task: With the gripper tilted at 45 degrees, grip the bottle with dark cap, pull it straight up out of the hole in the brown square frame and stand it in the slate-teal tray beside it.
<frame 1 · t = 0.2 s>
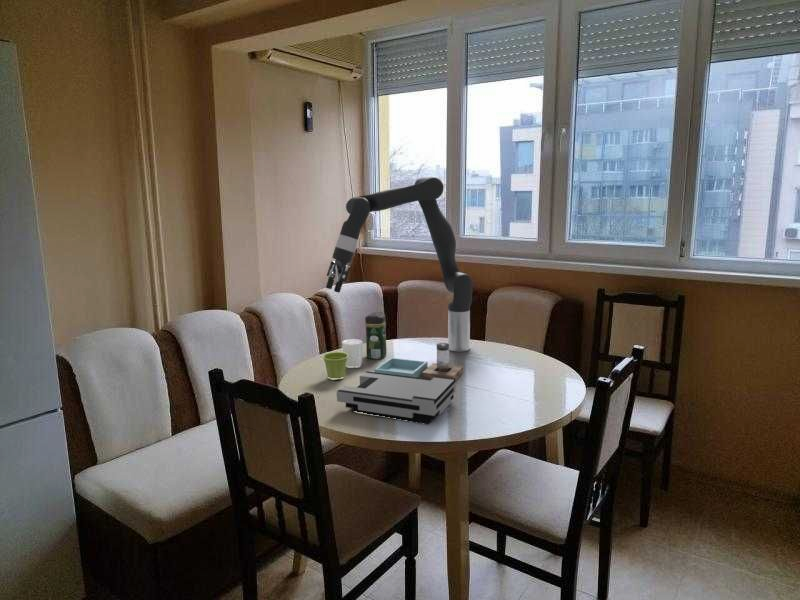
hand: (332, 290, 206), 31 cm above the table, tool tilted 20°, fingers open, 8 cm apart
coffee jar: (376, 356, 229), on the table
game console: (397, 408, 175), on the table
plant pot: (336, 378, 203), on the table
parts tray: (401, 375, 204), on the table
white cup: (353, 366, 217), on the table
brown square frame: (443, 375, 203), on the table
bottle with dark cap: (442, 360, 202), in the brown square frame
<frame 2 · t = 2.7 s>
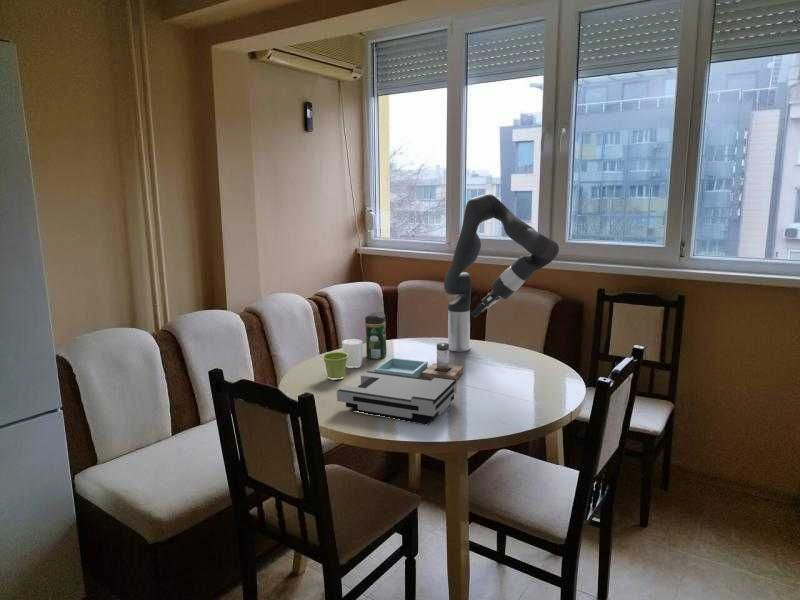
hand: (476, 313, 193), 25 cm above the table, tool tilted 45°, fingers open, 8 cm apart
nothing on the table moved.
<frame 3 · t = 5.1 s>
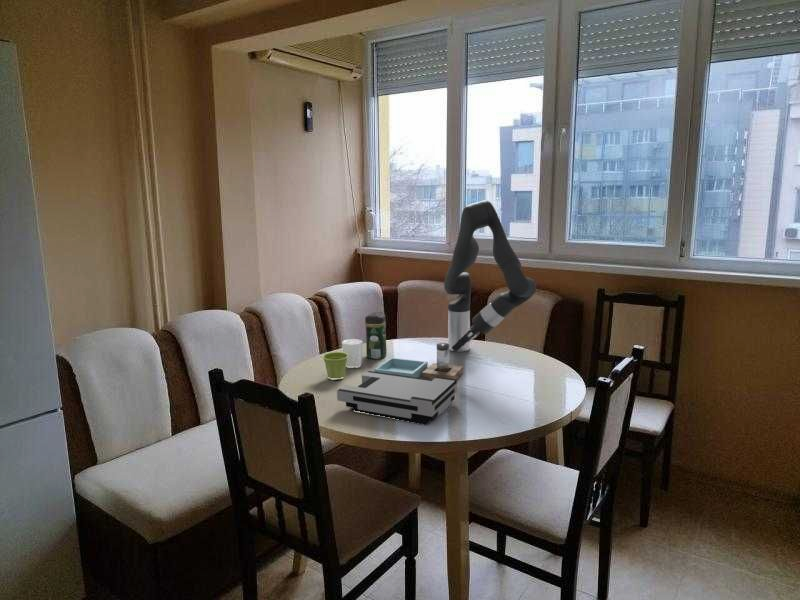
hand: (457, 346, 199), 12 cm above the table, tool tilted 45°, fingers open, 8 cm apart
nothing on the table moved.
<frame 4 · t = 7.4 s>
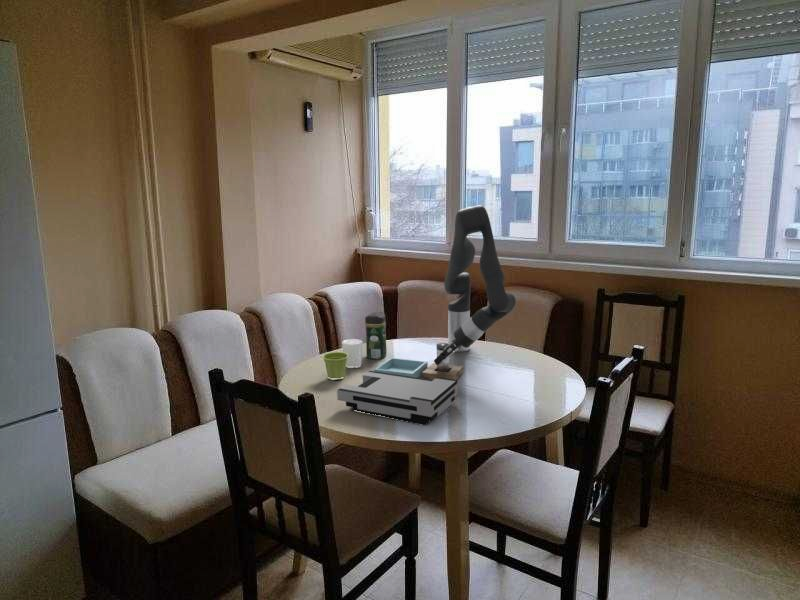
hand: (438, 360, 203), 6 cm above the table, tool tilted 45°, fingers closed on bottle with dark cap, 4 cm apart
bottle with dark cap: (442, 360, 202), in the brown square frame, touching gripper
everything else where it was.
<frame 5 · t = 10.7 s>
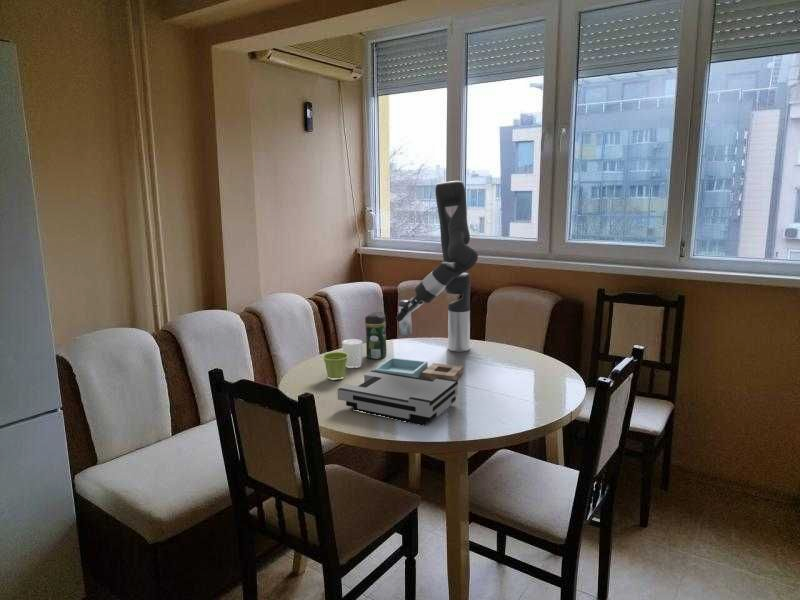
hand: (400, 317, 200), 22 cm above the table, tool tilted 45°, fingers closed on bottle with dark cap, 4 cm apart
bottle with dark cap: (405, 317, 200), point 22 cm above the table, touching gripper
when the fingers open (8 cm above the table, at t = 13.9 s): bottle with dark cap drops 1 cm, resting on parts tray.
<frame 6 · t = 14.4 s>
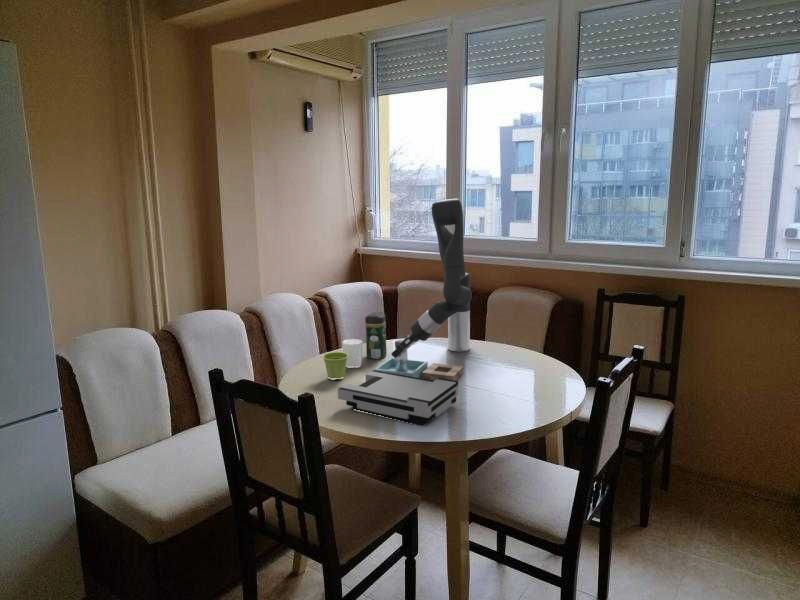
hand: (397, 352, 203), 9 cm above the table, tool tilted 45°, fingers open, 8 cm apart
bottle with dark cap: (401, 357, 203), in the parts tray, point 7 cm above the table
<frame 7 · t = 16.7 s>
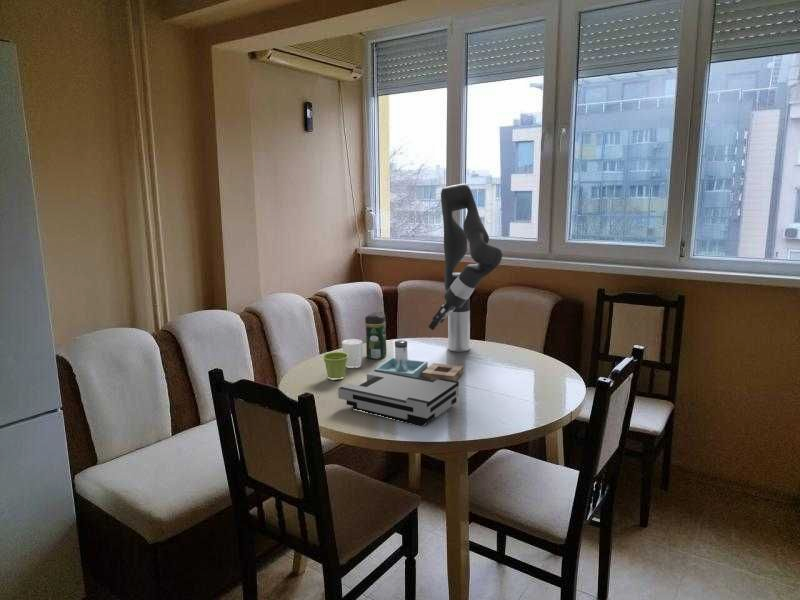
hand: (435, 324, 199), 20 cm above the table, tool tilted 35°, fingers open, 8 cm apart
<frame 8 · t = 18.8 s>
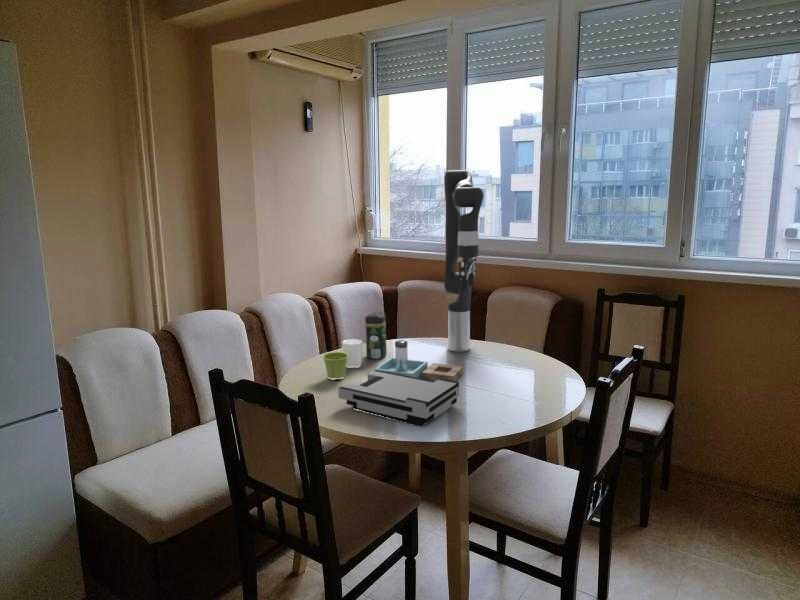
hand: (467, 287, 202), 32 cm above the table, tool pointing down, fingers open, 8 cm apart
at the end: bottle with dark cap inside the target area on the parts tray (0.1 cm from its centre), point 7.0 cm above the parts tray's base; the gripper is holding nothing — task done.
